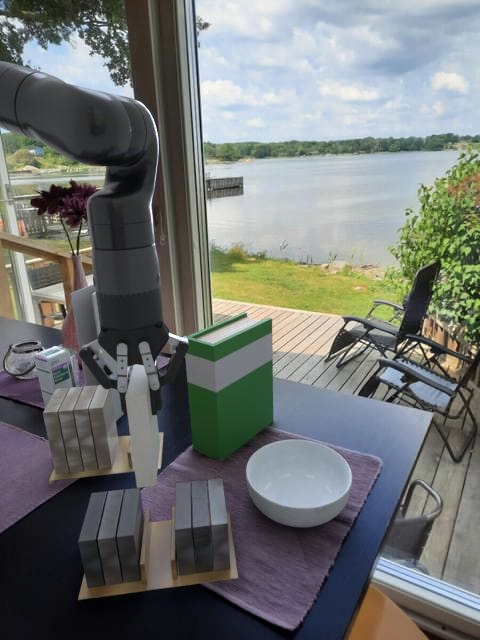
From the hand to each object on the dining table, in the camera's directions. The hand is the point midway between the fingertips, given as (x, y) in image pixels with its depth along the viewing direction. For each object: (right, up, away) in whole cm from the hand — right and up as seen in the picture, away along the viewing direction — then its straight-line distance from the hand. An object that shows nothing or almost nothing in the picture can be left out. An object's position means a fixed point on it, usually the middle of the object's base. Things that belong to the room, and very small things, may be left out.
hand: (143, 412), depth 57 cm
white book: (0, -8, +3) cm, 8 cm away
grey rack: (+1, -23, +7) cm, 24 cm away
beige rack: (-12, -15, +30) cm, 35 cm away
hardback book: (+12, -12, +36) cm, 40 cm away
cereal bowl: (+22, -19, +16) cm, 33 cm away
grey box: (-16, -9, +48) cm, 52 cm away
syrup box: (-30, -9, +49) cm, 59 cm away
